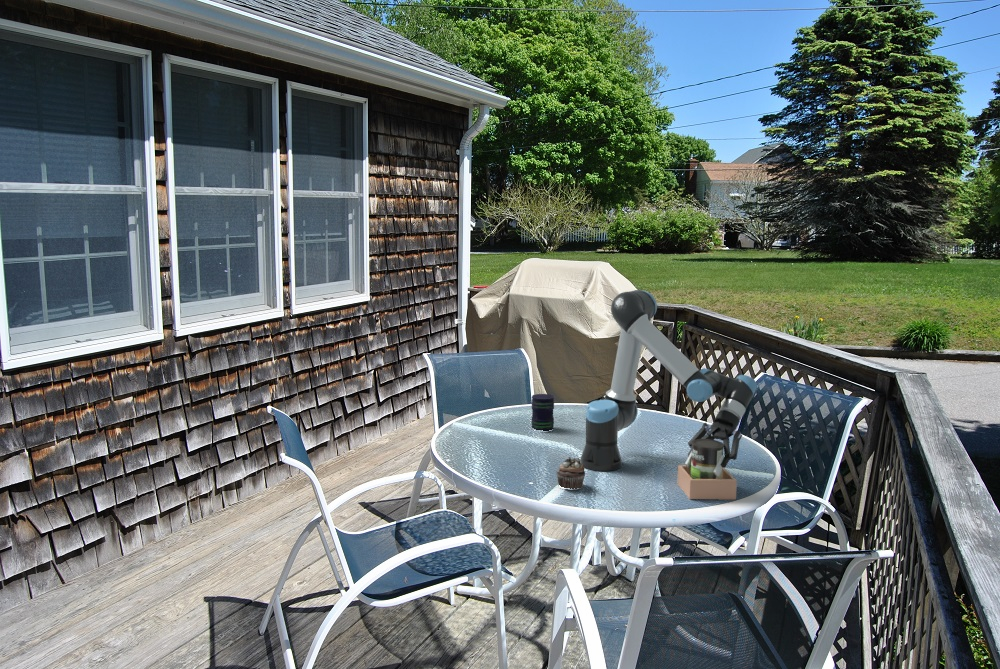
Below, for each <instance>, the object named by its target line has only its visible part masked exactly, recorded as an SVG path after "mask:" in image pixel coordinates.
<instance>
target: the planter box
mask: <svg viewBox="0 0 1000 669" xmlns="http://www.w3.org/2000/svg"><path fill="white" fill-rule="evenodd" d="M690 475H691V468H690V469H689V468H688V467H687V466H686V465H685V464H683V465H682V464H681V465H680V464H678V465H677V480H676V481H677V482H676V484H677V485H678V487H679V488H680V490H682V492H683V491H684V492H683V493H684V494H685V496H686V495H687V496H686V497H687V499H688V500H690V499H719V500H737V487H738V486H737V483H738V480H737V478H735V477H734V476H733V474H731V473H730V472H729V471H728V470H727V469H726V467H725V468H723V469H722V479H692V478H691V477H690ZM719 500H718V501H719Z"/></svg>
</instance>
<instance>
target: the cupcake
mask: <svg viewBox="0 0 1000 669" xmlns="http://www.w3.org/2000/svg"><path fill="white" fill-rule="evenodd" d="M585 476H586V470H585V467H584V466H583V465H582V464H581V458H579V457H576V458H571V457H568V458H566V459H565V460H564V462H563V463H561V464H559V467H558V470H557V471H556V478H557V484H558V486H559V485H560V486H561V487H564V488H570V489H571V488H572V489H574V488H575V489H577V488H581V487H582V488H583V484H584V481H585ZM582 488H581V489H582Z"/></svg>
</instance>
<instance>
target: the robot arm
mask: <svg viewBox="0 0 1000 669" xmlns="http://www.w3.org/2000/svg"><path fill="white" fill-rule="evenodd" d="M657 309H658V303H657V300H656V299H655V297H654V296H653V294H652V293H650V292H648V291H647V290H642V289H635V290H631V291H623V292H621V293H619V294H617V295H616V296H614V298H613V300H612V303H611V306H610V310H611V316H612V317H613V320H615V322H616V323H617V325H618V326H619V327H620V334H619V340H618V345H617V350H616V356H615V361H614V368H613V374H612V379H611V386H610V389H609V390H607V391H606V392H605V397H604V399H599V400H593V401H591V402H589V403H588V404H587V405H586V412H585V444H584V448H583V450H582V453H581V455H580V460H581V462H580V463H581V464H582V465H583V466H584V469H587V470H592V471H598V472H608V471H615V470H619V469H620V468H621V467H622V464H623V460H622V456H621V453H620V449H619V446H618V439H619V437H618V433H619V432H620V431H622V430H624V429H626V428H628V427H630V426H631V425H632V424H633V423H634V422H635V421H636V419H637V417H638V414H639V413H638V412H639V411H638V410H639V409H638V406H637V403H636V401H637V397H636V395H635V393H634V391H635V390H634V389H635V383H636V379H637V374H638V368H639V364H640V363H639V361H640V357H641V352H642V346H643V347H644V348H645V349H646V350H647V351H649V353H650V354H651V355H652V356H653V357H654V358H655V359H656V360H658V362H659V363H660V364H661V365H662V366H663V367H664V368H665V369H666V370H667V371H668V372H669V373H670V374H671V375H672V376H673V377H674V378H675V379H676V380H677V381H678V382H679V383H680V384H681V385H682V386H683V387H684V388H685V389H686V394H687V397H688V398H689V399H690V400H691V401H693V402H697V403H702V402H705V401H708V400H709V399H711V397H714V396H718V397H721V398H723V399H724V401H723V403H722V405H721V407H720V408H719V411H718V412H717V414H716V416H715V418H714V422H713V423H712V424H708V423H707V422H704V423H703V424H702V426H701V428H700V429H699V430H698V431H697V432H696V433H695V435H694V436H692V437H691V439H690V440H689V441H688V442H687V445H688V447H689V448H690V450H689V451H688V453H687V458H686V461H685V463H684V465H686V466H687V467H688V468H689V469H690V468H691V453H692V441H693V440H696V439H711V440H720V441H722V443H723V444H724V448H723V455H722V456H721V458H720V460H719V462H718V463H717V465H716V467H715V469H714V471H713V472H714V474H715V475H716V476H717V477H718V476H719V474H720V473H721V471H722V469H723V468H725V469H726V467H727V465H728V463H729V461H730V460H733V461H736V460H737V458H738V453H739V446H740V440H741V439H742V437H743V434H742V432H741V431H740V430H739V429H738V430H736V429H737V428H738V426H739V424H740V423H741V420H742V418H743V416H744V415H745V413H746V410H747V408H748V406H749V404H750V402H752V399H753V397H754V395H755V393H756V390H757V387H758V384H757V381H756V380H755V379H754V378H753V377H752V376H750V375H746V374H740V375H737V376H736V377H735V378H734V377H733V378H732V377H730V376H728V375H724V374H722V373H720V372H716V371H714V370H712V369H708V368H705V367H704V368H703V367H702V368H701V369H699V368H698V367H697V366H696V364H694V363H693V362H692V361H691V360H690V359H689V358H688V357H687V356H686V355H685V354H683V353H682V351H681V350H680V349H679V348H677V347H676V346H675V345H674V344H673V343H672V342H671V340H669V338H667V336H665V335H664V334H663V332H662V331H661V330H660V329H658V328H657V327H656V326H655V325H654V324H653V323H652V321H651V319H653V318H654V316H655V315H656V313H657ZM732 436H733V437H732ZM731 437H732V443H731V447H730V438H731Z"/></svg>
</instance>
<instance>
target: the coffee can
mask: <svg viewBox="0 0 1000 669" xmlns="http://www.w3.org/2000/svg"><path fill="white" fill-rule="evenodd" d="M722 455H723V456H724V444H723V441H722V442H721V440H720V441H719V440H717V439H714V440H711V439H696V440H693V441H692V453H691V475H690V477H691V478H692V479H722V471H721V473H720V474H719V476H718V477H717V476H716V475H715V474H714V472H713V471H714V469H715V467H716V465H717V463H718V462H719V460H720V458H721V456H722Z"/></svg>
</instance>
